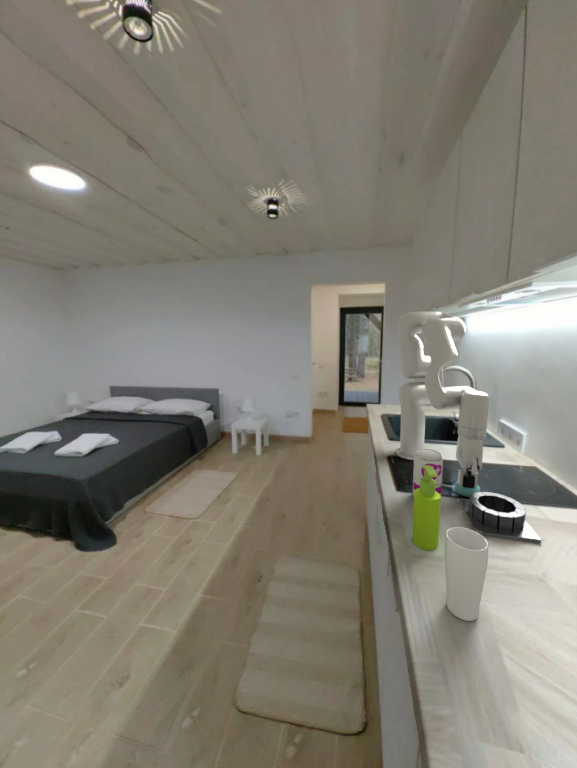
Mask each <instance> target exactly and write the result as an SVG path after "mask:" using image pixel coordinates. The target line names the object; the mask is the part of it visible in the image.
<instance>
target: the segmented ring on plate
mask: <svg viewBox="0 0 577 768" xmlns="http://www.w3.org/2000/svg"><path fill="white" fill-rule="evenodd" d="M458 503H459V505H460V508H461V509H462V511H463V513H464V515H465V517H466V519H467V520H468V522H469V524H470V526H471V528H472V530H473V531H475V532H477V533H479V534H481V535H482V536H483V537H484V538H485V537H487V538H495V539H503V540H510V541H520V542H528V543H534V544H542V539H541V537H540V536H539V535H538V534H537V533H536V531H534V529H533V528H532V526H531V525H530V524H529V523H528V522H527V521H526V515H527V509H526V508H525V507H524V505H522V503H521V502H519V501H517V500H516V499H514V498H512V497H510V496H509V497H508V496H506V495H504V494H501V493H500V494H499V493H496V492H495V493H494V492H490V491H480V492H477V493H473V494H471V496H470V497H468V499H464V498H463V499H462V498H458Z"/></svg>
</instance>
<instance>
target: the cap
mask: <svg viewBox="0 0 577 768" xmlns="http://www.w3.org/2000/svg"><path fill="white" fill-rule="evenodd" d="M468 471H471V470H468ZM463 475H465V469H461V468H458V475H457V480H455V482H454V485H453V486H454V488H453V490H454V491H455V492H456V493H457V494H459V495H461V496H464V497H468V498H469V497H470V496H471V494H473V493H477V492H481V491H480V490H481V488H480V487H481V486H479V485H478V481H479V472H478V471H477V476H476V477H475V485H474V488H465V487H463Z"/></svg>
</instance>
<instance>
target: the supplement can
mask: <svg viewBox="0 0 577 768" xmlns="http://www.w3.org/2000/svg"><path fill="white" fill-rule="evenodd" d="M422 465H429V466H431V467H432V468H433V469H434V470H435V472H436V473H437V476H438V477H437V478H434V477H432V479H434V480H435V491H436V492H438V493H439V494H440V496H441V497H442V492H443V491H442V489H443V488H442V487H443V468H444V467H443V466H444V459H443V456H442V453H441V452H439V451H437V450H434V449H429V448H424V449H419V450H417V451H416V453H415V455H414V460H413V470H412V471H413V475H412V496H413V497H414V491H415V490H416V489H418V488H420V479H421V478H423V477H424V469H423V468H422Z"/></svg>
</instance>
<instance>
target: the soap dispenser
mask: <svg viewBox="0 0 577 768" xmlns="http://www.w3.org/2000/svg"><path fill="white" fill-rule="evenodd" d="M422 468H423V469H424V477H423V478H421V479H420V488H418V489H416V490H415V491H414V496H413V511H412V512H413V513H412V514H413V517H412V521H413V522H412V543H413V544H414V546H416V547H418V548H419V549H422V550H426V551H434V550H435V551H436V549H438V547H439V538H440V537H439V536H440V534H439V533H440V515H441V500H442V495H441V496H440V494H439V493H438V492H436V491H435V480H434V479H432V477H434V478H437V477H438V476H437V473H436V472H435V470H434V469H433V468H432V467H431V466H429V465H422Z"/></svg>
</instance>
